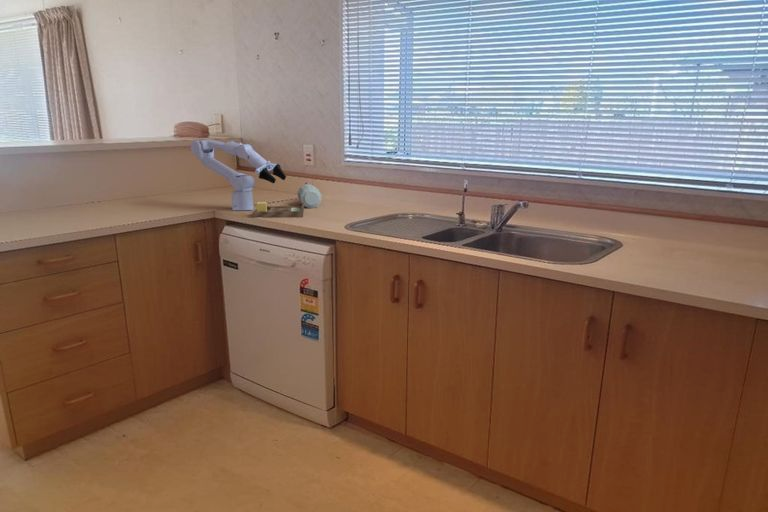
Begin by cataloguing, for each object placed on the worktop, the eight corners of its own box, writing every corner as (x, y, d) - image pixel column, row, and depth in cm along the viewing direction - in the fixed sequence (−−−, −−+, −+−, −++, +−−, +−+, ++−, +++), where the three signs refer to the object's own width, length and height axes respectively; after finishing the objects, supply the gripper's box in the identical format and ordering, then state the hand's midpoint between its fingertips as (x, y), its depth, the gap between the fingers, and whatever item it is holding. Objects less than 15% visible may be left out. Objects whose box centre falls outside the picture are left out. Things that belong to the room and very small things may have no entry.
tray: (253, 217, 240) (253, 208, 239) (257, 211, 253) (256, 203, 252) (302, 217, 242) (302, 208, 241) (303, 211, 255) (303, 203, 254)
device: (322, 208, 263) (321, 187, 261) (301, 209, 261) (300, 187, 258) (312, 198, 292) (311, 179, 290) (293, 199, 290) (292, 180, 287)
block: (256, 212, 241) (256, 203, 240) (257, 210, 245) (257, 202, 244) (266, 212, 242) (265, 203, 241) (266, 210, 246) (266, 201, 244)
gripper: (251, 157, 241) (273, 176, 239) (271, 152, 253) (292, 170, 251) (246, 170, 245) (267, 188, 242) (266, 165, 257) (287, 182, 255)
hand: (280, 180), depth 247 cm, fingers open, 7 cm apart
